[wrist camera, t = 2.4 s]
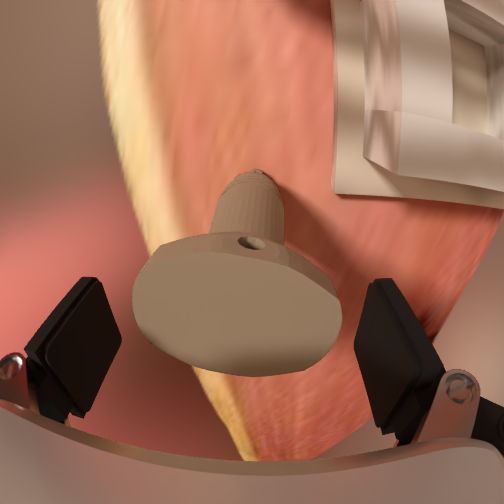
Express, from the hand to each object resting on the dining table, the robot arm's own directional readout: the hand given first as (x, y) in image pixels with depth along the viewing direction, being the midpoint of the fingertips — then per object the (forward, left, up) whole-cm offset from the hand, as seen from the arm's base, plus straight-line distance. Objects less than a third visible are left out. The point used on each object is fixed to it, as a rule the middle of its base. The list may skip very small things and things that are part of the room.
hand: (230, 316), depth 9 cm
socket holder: (-11, +16, -14) cm, 24 cm away
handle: (0, 0, -14) cm, 14 cm away
